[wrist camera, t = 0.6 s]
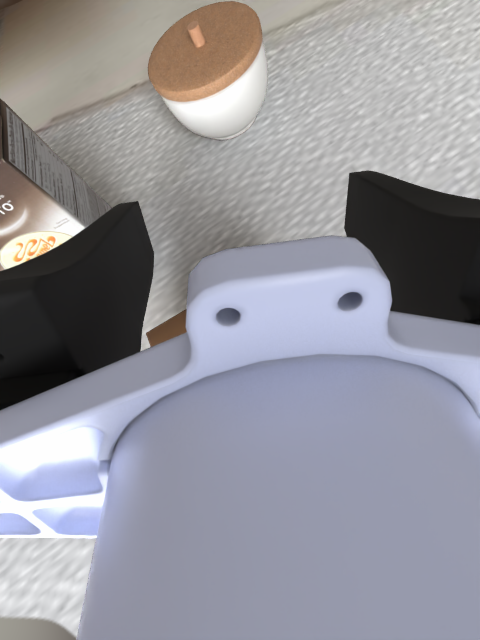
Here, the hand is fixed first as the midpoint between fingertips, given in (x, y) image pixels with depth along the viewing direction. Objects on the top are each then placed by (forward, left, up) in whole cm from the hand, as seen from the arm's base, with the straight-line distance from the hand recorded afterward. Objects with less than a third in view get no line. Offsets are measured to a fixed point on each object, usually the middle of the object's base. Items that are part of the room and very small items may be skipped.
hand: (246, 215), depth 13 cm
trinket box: (+27, -5, -17) cm, 32 cm away
